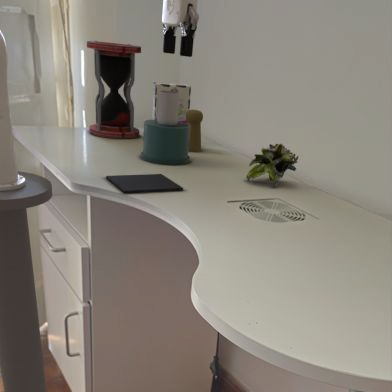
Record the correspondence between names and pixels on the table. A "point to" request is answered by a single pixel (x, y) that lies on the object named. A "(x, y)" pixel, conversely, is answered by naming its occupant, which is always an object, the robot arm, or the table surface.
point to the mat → (143, 183)
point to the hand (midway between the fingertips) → (177, 54)
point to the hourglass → (114, 89)
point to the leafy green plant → (272, 162)
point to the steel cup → (168, 108)
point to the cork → (194, 129)
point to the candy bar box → (183, 98)
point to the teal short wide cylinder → (166, 143)
